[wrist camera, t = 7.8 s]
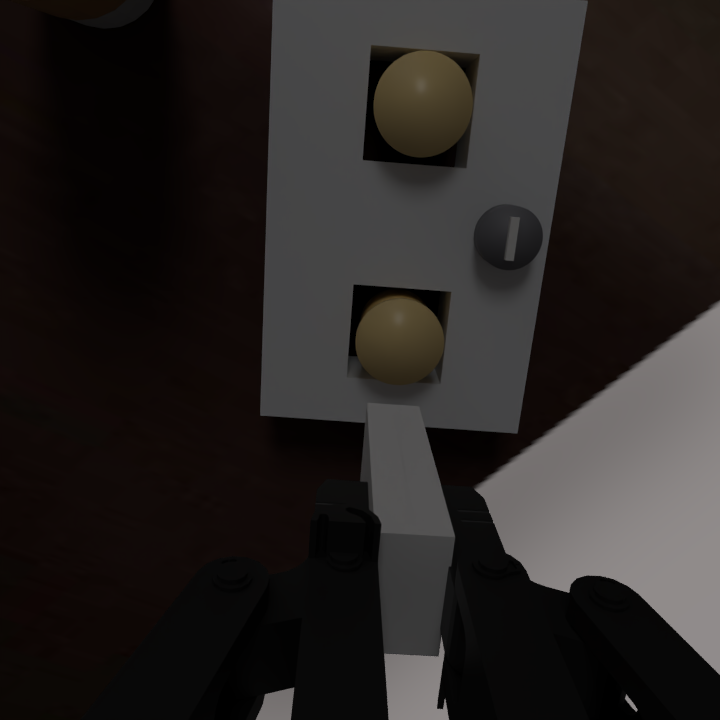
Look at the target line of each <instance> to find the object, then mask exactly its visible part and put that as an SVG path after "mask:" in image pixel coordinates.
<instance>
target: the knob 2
mask: <svg viewBox="0 0 720 720" xmlns="http://www.w3.org/2000/svg"><path fill="white" fill-rule="evenodd" d="M443 349H444V334H443V330H442V327H441V325H440V323H439V321H438V319H437V317H436V316H435V315H434V313H433V312H432V311H431V310H430V309H429V308H427V306H426V304H425V303H424V301H423V300H422V299H421V298H420V297H418V296H417V295H416V294H414V293H412V292H410V291H408V290H404V289H388V290H384V291H382V292H379V293H378V294H376V295H375V296H373V297H372V298H371V299H370V300H369V301H368V302H367V303H366V305H365V306H364V308H363V310H362V313H361V316H360V324H359V326H358V329H357V332H356V352H357V356H358V359H359V361H360V363H361V365H362V366H363V368H364V369H365V370H366V371H367V372H368V373H369V374H370V375H371V376H372V377H374V378H375V379H377V380H379V381H381V382H384V383H387V384H391V385H407V384H411V383H414V382H417V381H419V380H421V379H423V378H424V377H426V376H427V375H428V374H430V373H431V372H432V371H433V370H434V368H435V367H436V366H437V364H438V363H439V361H440V359H441V356H442V353H443Z"/></svg>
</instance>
